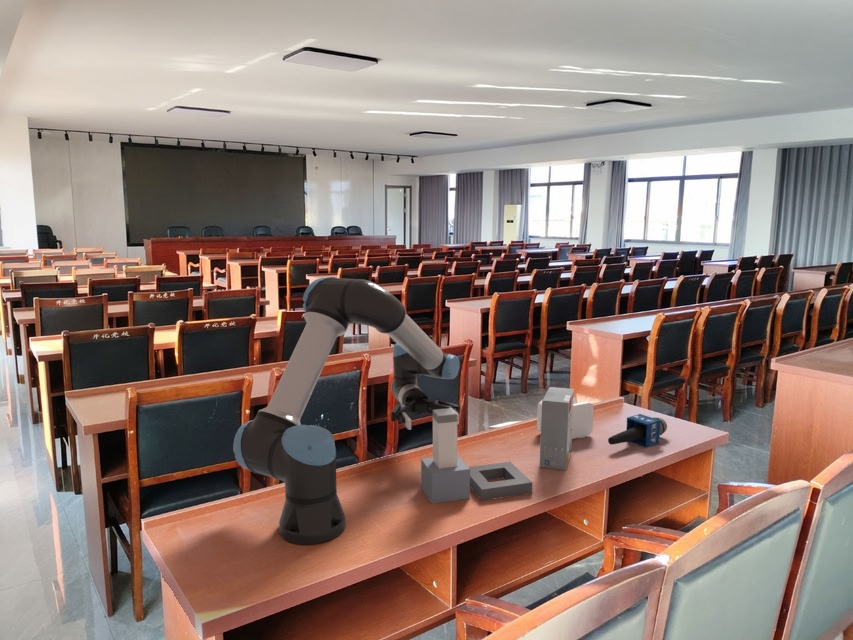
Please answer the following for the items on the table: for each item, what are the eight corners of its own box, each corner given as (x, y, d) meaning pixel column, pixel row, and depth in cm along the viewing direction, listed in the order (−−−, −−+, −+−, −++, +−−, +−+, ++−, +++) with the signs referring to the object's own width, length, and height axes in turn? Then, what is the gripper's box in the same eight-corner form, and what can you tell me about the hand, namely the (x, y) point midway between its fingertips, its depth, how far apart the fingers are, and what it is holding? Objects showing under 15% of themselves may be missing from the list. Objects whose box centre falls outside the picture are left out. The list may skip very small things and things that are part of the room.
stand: (432, 504, 153) (432, 474, 152) (421, 487, 163) (421, 458, 161) (469, 498, 156) (469, 468, 155) (456, 482, 166) (456, 454, 164)
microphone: (601, 424, 187) (652, 409, 200) (600, 448, 188) (651, 432, 202) (622, 432, 180) (673, 416, 194) (621, 457, 182) (672, 439, 195)
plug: (438, 468, 155) (438, 415, 153) (433, 461, 160) (432, 409, 157) (457, 466, 156) (457, 413, 154) (451, 458, 161) (450, 407, 159)
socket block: (481, 500, 155) (481, 489, 154) (463, 477, 168) (463, 467, 168) (532, 493, 159) (532, 482, 158) (510, 471, 172) (510, 461, 172)
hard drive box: (566, 471, 172) (568, 403, 168) (539, 468, 174) (540, 400, 171) (571, 451, 186) (574, 388, 183) (546, 448, 189) (548, 385, 185)
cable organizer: (555, 444, 192) (556, 409, 190) (535, 433, 201) (536, 399, 199) (593, 436, 198) (594, 402, 196) (572, 426, 208) (573, 393, 206)
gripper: (452, 407, 190) (477, 430, 170) (373, 415, 183) (389, 440, 163) (452, 384, 189) (477, 404, 169) (372, 391, 182) (388, 413, 162)
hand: (434, 422), depth 166 cm, fingers open, 13 cm apart
